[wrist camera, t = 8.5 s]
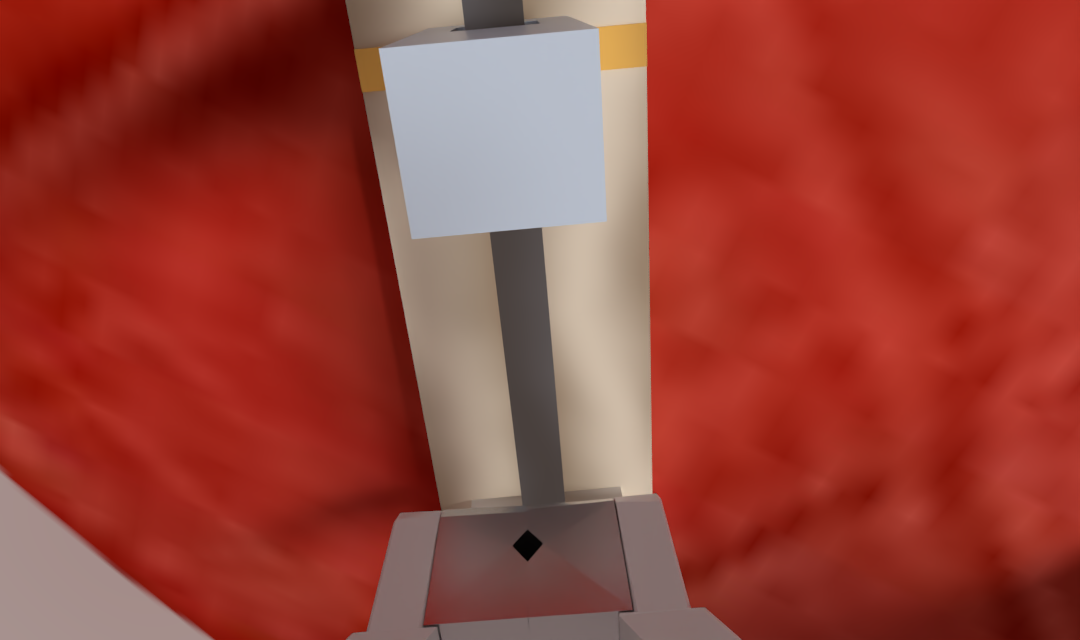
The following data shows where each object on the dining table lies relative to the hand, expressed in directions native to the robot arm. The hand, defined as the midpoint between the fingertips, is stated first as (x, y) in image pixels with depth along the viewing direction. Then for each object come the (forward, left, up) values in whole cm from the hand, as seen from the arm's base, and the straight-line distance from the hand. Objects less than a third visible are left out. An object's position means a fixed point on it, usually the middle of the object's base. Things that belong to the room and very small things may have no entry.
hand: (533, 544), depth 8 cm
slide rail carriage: (0, -3, -17) cm, 18 cm away
